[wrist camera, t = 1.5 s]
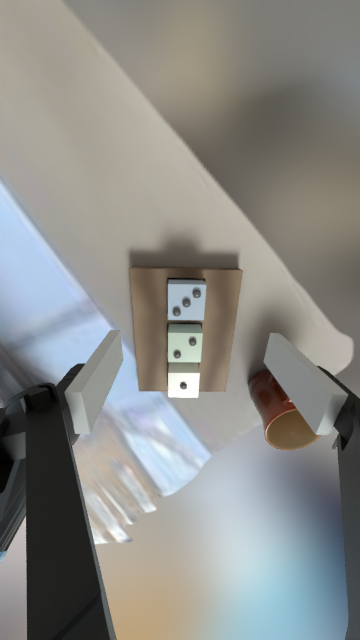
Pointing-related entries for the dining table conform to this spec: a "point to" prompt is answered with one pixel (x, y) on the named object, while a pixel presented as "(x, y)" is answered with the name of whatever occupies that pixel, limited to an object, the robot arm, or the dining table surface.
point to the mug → (279, 414)
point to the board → (154, 319)
